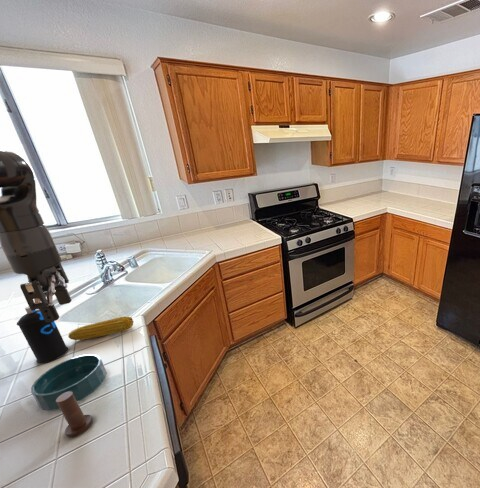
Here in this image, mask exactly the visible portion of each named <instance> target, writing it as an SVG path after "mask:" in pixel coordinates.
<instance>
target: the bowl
mask: <svg viewBox="0 0 480 488" xmlns="http://www.w3.org/2000/svg"><path fill="white" fill-rule="evenodd" d="M107 374H108V371H107V369H106V366H105V364H104V363H103V360H102V357H101V356H100V355H99V354H95V353H94V354H93V353H88V354H81V355H78V356H75V357H71V358H69V359H67V360H65V361H62V362H60V363H58V364H56V365H54V366H53V367H51V368H50V369H48V370H47V371H45V372H44V373H42V374H41V375H40V376H39V377H38V378H37V379H36V380H35V381H33V384H32V385H31V386H30V393H31V395H32V397H33V399H34V400H35V402H36V404H37V405H38V407H39V408H40V409H41V410H43V411H55V410H56V411H57V410H60V408H59V406H58V404H57V402H56V399H57V398H58V397H59V396H60V395H62V394H63V393H66V392H69V391H71V392H73V394H74V396H75V398H76V400H77V402H79V401H81V400H84V399H85V398H86V397H88V396H89V395H91V394H92V393H94V392H95V391H96V390H97V389H98V388H99V387H100V386H101V385H102V384H103V383H104V381H105V380H106V378H107V376H108V375H107Z"/></svg>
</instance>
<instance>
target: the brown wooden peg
mask: <svg viewBox="0 0 480 488" xmlns="http://www.w3.org/2000/svg"><path fill="white" fill-rule="evenodd" d="M56 402H57V404H58V406H59V408H60V409H59V411H61V413H62V416H63V417H64V419H65V421H66V423H67V424H68V425H67V426H66V428H65V430H64V434H65V435H66V437H67V438H68V439H69V438H70V439H71V438H76V437H79V436H80V435H82V434H84V433H85V432H86V431H88V430H89V429H90V428H91V427H92V425H93V424H94V418H93V416H92V415H91V414H84V412H83V410H82V408H81V406H80V404H79V401H77V400H76V398H75V396H74V394H73V392H71V391H69V392H66V393H63V394H62V395H60V396H59V397H58V398H57V399H56Z"/></svg>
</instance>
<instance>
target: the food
mask: <svg viewBox="0 0 480 488" xmlns="http://www.w3.org/2000/svg"><path fill="white" fill-rule="evenodd" d="M133 326H134V319H133V318H132V317H131V316H128V315H127V316H118V317H115V318H111V319H107V320H102V321H98V322H95V323H91V324H86V325H83V326H80V327H77V328H75V329H73V330H71V332H70V331H69V332H68V338H69V340H72V341H82V340H88V339H94V338H100V337H105V336H108V335H112V334H117V333H120V332H121V333H122V332H125V331H128V330H130V329H132V327H133Z"/></svg>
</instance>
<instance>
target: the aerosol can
mask: <svg viewBox="0 0 480 488" xmlns="http://www.w3.org/2000/svg"><path fill="white" fill-rule="evenodd" d="M24 310H25V312H26V313H25V314H24V315H22V316H21V317H20V318H19V319H18V321H17V322H16V325H17V326H18V327H19V329H20V331H21V333H22V335H23V337H24V338H25V340H26V342H27V344H28V346H29V348H30V350H31V352H32V353H33V355H34V358H35V359H36V363H38V364H46V363H47V364H48V363H51V362H53V361H56V360H57V359H58V360H59V358H61V357H63V356H64V355H65V354H67V352H68V351H69V347H68V346H67V345H66V343H65V341H64V338H63V336H62V335H61V332H60V330H59V328H58V325H57V323H56V321H52V322H45V320H44V318H43V316H42V314H41V312H40V310H39V309H36V310H31V309H30V307H29V305H28V306H26V307H25V308H24Z"/></svg>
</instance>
